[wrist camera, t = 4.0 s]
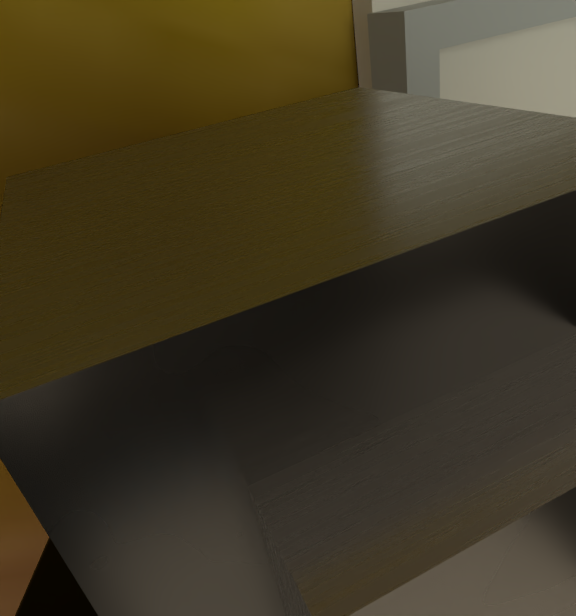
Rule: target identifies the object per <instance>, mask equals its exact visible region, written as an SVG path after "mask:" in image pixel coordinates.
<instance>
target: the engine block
mask: <svg viewBox="0 0 576 616" xmlns="http://www.w3.org/2000/svg"><path fill="white" fill-rule="evenodd" d="M0 458H1V460H2V462H3V463H4V465H5V466H6V468H7V470H8V471H9V473H10V474H11V476H12V478H13V479H14V481H15V482H16V484H17V486H18V487H19V489H20V491H21V492H22V494H23V495H24V497H25V499H26V500H27V502H28V503H29V505H30V507H31V508H32V510H33V511H34V513H35V515H36V516H37V518H38V520H39V521H40V523H41V524H42V526H43V528H44V529H45V531H46V532H47V534H48V536H49V537H50V539H51V540H52V542H53V544H54V545H55V547H56V548H57V550H58V552H59V553H60V555H61V557H62V558H63V560H64V561H65V563H66V565H67V566H68V568H69V569H70V571H71V573H72V574H73V576H74V577H75V579H76V581H77V582H78V584H79V586H80V587H81V589H82V590H83V592H84V594H85V595H86V597H87V598H88V600H89V602H90V603H91V605H92V606H93V608H94V610H95V611H96V613H97V614H98V616H576V117H569V116H562V115H555V114H548V113H541V112H534V111H526V110H519V109H512V108H505V107H498V106H491V105H484V104H477V103H469V102H462V101H455V100H448V99H441V98H434V97H427V96H419V95H412V94H405V93H398V92H391V91H384V90H377V89H370V88H362V87H358V88H354V89H350V90H346V91H342V92H338V93H334V94H330V95H327V96H323V97H319V98H315V99H311V100H307V101H303V102H299V103H295V104H291V105H287V106H284V107H280V108H276V109H272V110H268V111H264V112H260V113H256V114H252V115H248V116H244V117H241V118H237V119H233V120H229V121H225V122H221V123H217V124H213V125H209V126H205V127H201V128H198V129H194V130H190V131H186V132H182V133H178V134H174V135H170V136H166V137H162V138H158V139H155V140H151V141H147V142H143V143H139V144H135V145H131V146H127V147H123V148H119V149H115V150H112V151H108V152H104V153H100V154H96V155H92V156H88V157H84V158H80V159H76V160H72V161H69V162H65V163H61V164H57V165H53V166H49V167H45V168H41V169H37V170H33V171H29V172H26V173H22V174H18V175H14V176H10V177H7V178H6V185H5V191H4V198H3V204H2V211H1V217H0Z"/></svg>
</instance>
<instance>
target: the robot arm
mask: <svg viewBox="0 0 576 616" xmlns="http://www.w3.org/2000/svg"><path fill="white" fill-rule="evenodd" d="M15 616H98V614H97V613H96V611H95V610H94V608H93V606H92V605H91V603H90V602H89V600H88V598H87V597H86V595H85V594H84V592H83V590H82V589H81V587H80V586H79V584H78V582H77V581H76V579H75V577H74V576H73V574H72V573H71V571H70V569H69V568H68V566H67V565H66V563H65V561H64V560H63V558H62V557H61V555H60V553H59V552H58V550H57V548H56V547H55V545H54V544H53V542H52V540H51V539H50V537H49V539H48V541H47V544H46V546H45V548H44V550H43V553H42V555H41V557H40V560H39V562H38V564H37V566H36V569H35V571H34V573H33V576H32V578H31V580H30V582H29V585H28V587H27V589H26V592H25V594H24V596H23V599H22V601H21V603H20V605H19V608H18V610H17V612H16V615H15Z"/></svg>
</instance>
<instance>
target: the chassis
mask: <svg viewBox="0 0 576 616" xmlns="http://www.w3.org/2000/svg"><path fill="white" fill-rule="evenodd" d="M352 5H353V17H354V29H355V42H356V54H357V66H358V78H359V87H362V88H370V89H377V90H384V91H391V92H398V93H405V94H412V95H419V96H427V97H434V98H441V99H448V100H455V101H462V102H469V103H477V104H484V105H491V106H498V107H505V108H512V109H519V110H526V111H534V112H541V113H548V114H555V115H562V116H569V117H576V0H352Z"/></svg>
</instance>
